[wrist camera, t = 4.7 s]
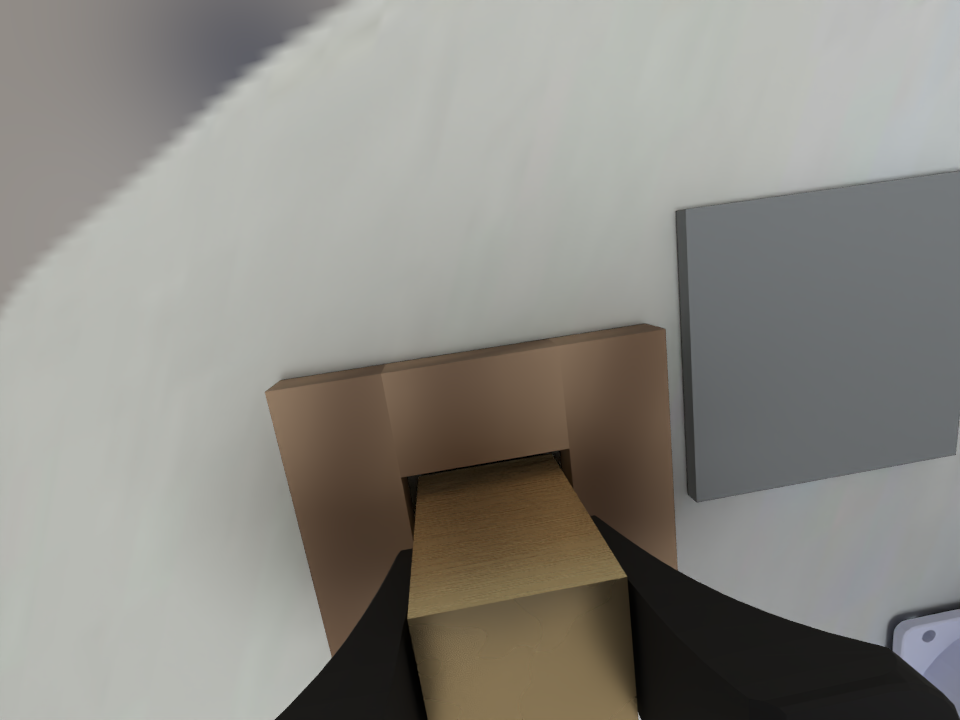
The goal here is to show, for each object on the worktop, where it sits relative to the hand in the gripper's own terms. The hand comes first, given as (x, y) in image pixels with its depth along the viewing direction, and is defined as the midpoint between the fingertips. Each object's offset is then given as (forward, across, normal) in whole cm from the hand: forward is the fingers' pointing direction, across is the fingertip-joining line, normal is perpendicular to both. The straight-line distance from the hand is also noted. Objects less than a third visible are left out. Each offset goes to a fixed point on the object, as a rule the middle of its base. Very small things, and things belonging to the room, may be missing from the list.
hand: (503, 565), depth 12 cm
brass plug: (+2, 0, 0) cm, 2 cm away
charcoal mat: (+2, -11, -4) cm, 12 cm away
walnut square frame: (+2, 0, 0) cm, 2 cm away
